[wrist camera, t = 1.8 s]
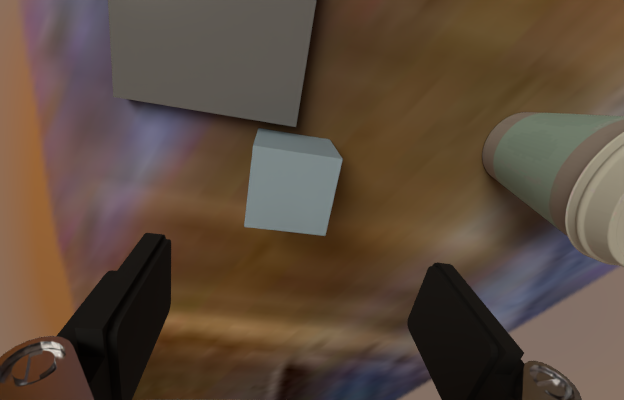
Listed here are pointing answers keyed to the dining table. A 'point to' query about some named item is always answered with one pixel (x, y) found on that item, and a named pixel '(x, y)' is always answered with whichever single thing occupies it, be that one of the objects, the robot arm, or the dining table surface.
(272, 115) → the board
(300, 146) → the cube
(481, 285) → the dining table surface
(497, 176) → the coffee cup
